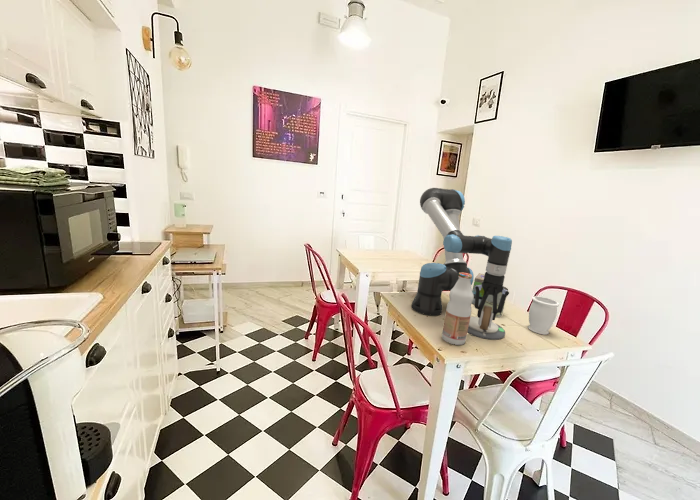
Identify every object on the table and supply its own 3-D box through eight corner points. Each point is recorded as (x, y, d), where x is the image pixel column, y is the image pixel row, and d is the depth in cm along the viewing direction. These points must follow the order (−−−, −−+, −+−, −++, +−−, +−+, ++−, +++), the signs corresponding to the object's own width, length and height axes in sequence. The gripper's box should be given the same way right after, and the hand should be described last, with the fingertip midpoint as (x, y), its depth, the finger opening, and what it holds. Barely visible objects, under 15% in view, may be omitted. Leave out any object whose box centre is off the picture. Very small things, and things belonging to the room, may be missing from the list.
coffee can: (478, 307, 165) (483, 282, 162) (498, 310, 164) (503, 285, 161) (484, 315, 155) (490, 288, 152) (505, 318, 154) (511, 291, 151)
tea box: (488, 308, 165) (493, 282, 162) (469, 303, 170) (474, 277, 167) (492, 300, 178) (497, 276, 175) (473, 296, 183) (478, 272, 180)
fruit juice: (438, 340, 123) (450, 273, 117) (444, 331, 131) (455, 269, 126) (463, 348, 119) (476, 279, 113) (466, 338, 127) (479, 274, 121)
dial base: (459, 333, 131) (459, 330, 131) (455, 315, 150) (456, 313, 150) (509, 343, 127) (510, 340, 126) (499, 324, 146) (500, 321, 145)
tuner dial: (463, 316, 146) (467, 294, 144) (494, 322, 143) (499, 300, 141) (467, 331, 131) (471, 306, 129) (502, 338, 128) (507, 313, 126)
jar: (520, 326, 146) (527, 296, 143) (535, 324, 150) (542, 295, 146) (540, 337, 136) (548, 305, 133) (556, 335, 140) (564, 304, 137)
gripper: (475, 272, 126) (465, 325, 131) (518, 279, 122) (506, 333, 127) (473, 268, 133) (463, 318, 138) (513, 274, 129) (502, 325, 134)
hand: (484, 325), depth 132 cm, fingers closed on tuner dial, 3 cm apart
